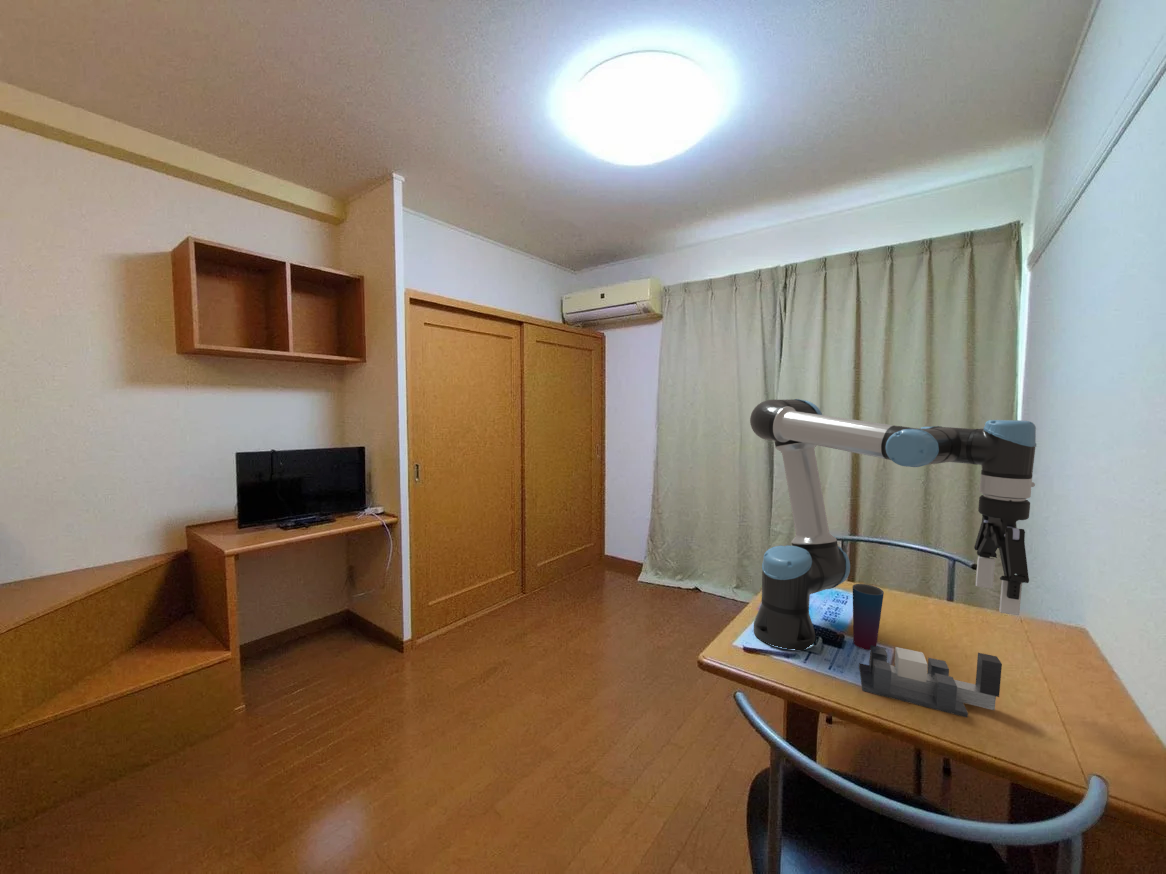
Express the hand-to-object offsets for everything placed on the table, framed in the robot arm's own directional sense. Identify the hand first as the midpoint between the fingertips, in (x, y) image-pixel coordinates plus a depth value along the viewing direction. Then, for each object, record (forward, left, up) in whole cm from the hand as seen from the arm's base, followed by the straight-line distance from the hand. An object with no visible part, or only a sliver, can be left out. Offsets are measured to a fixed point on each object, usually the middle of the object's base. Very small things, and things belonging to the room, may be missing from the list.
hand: (995, 599), depth 93 cm
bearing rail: (-14, -2, -23) cm, 27 cm away
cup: (-21, +15, -23) cm, 35 cm away
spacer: (-14, -2, -17) cm, 22 cm away
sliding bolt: (-9, -2, -22) cm, 24 cm away
